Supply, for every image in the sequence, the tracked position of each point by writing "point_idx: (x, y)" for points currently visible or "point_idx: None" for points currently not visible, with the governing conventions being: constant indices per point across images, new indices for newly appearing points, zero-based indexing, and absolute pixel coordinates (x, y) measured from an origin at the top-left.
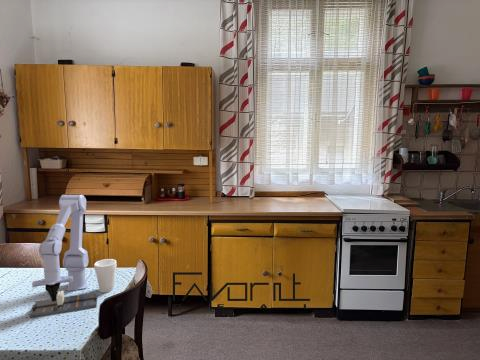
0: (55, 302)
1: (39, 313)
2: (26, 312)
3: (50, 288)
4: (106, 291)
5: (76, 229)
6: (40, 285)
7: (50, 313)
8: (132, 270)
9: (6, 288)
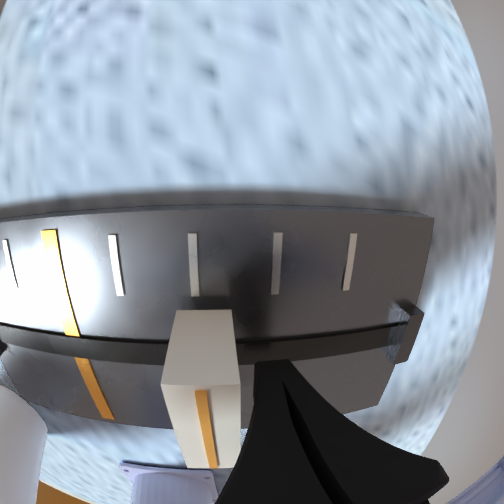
0: None
1: (380, 216)
2: (426, 307)
3: (380, 502)
4: (1, 389)
5: None
6: (467, 492)
7: (286, 208)
8: None
9: None
